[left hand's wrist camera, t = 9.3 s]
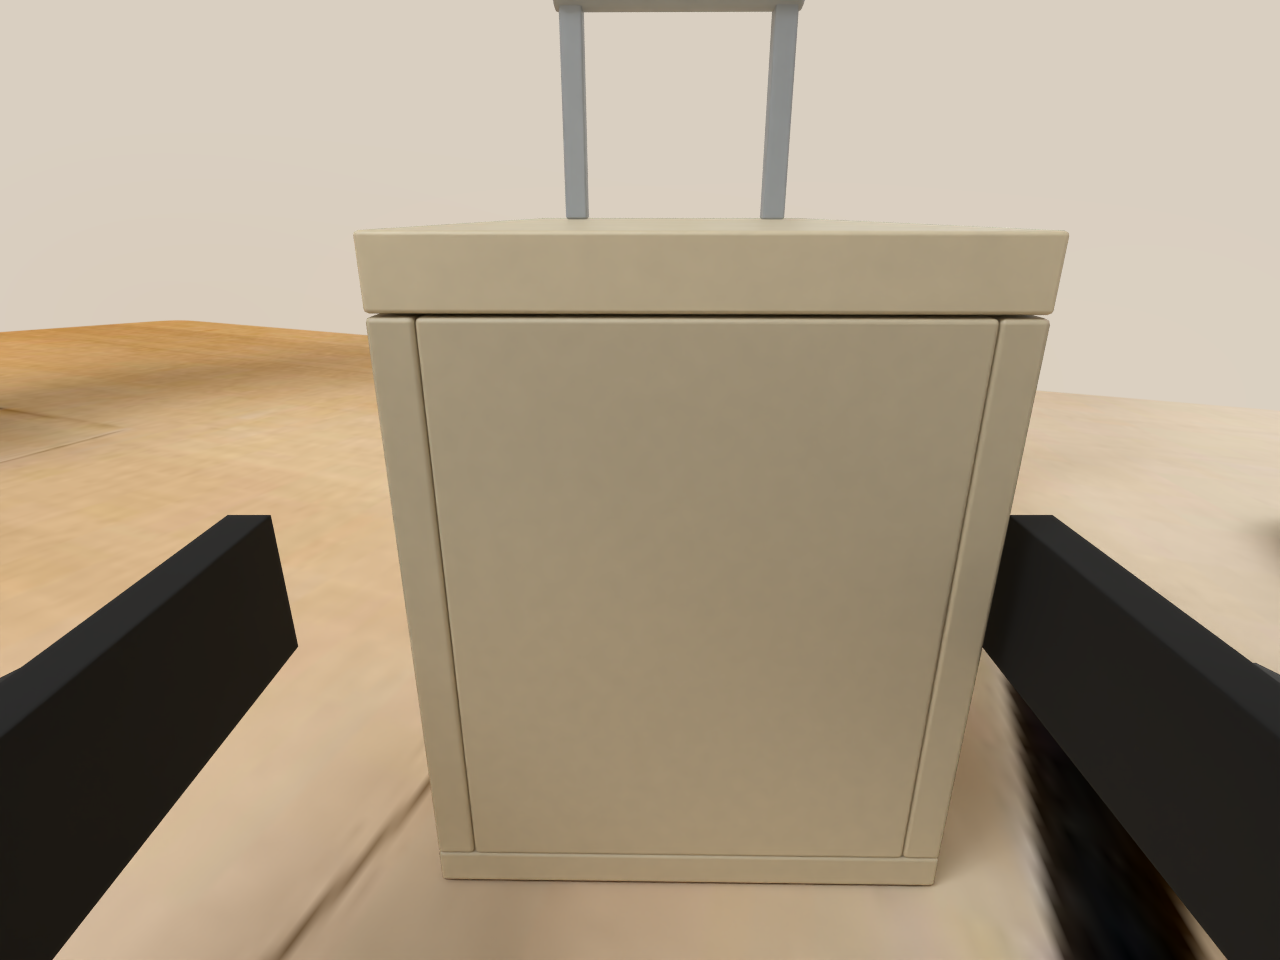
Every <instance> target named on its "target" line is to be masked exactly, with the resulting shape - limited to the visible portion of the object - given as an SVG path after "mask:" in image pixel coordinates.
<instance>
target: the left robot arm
mask: <svg viewBox="0 0 1280 960" xmlns="http://www.w3.org/2000/svg"><path fill="white" fill-rule="evenodd" d="M297 647H298V643H297V639H296V634H295V629H294V624H293V619H292V615H291V610H290V605H289V600H288V596H287V591H286V586H285V581H284V576H283V572H282V567H281V562H280V557H279V553H278V548H277V543H276V538H275V533H274V529H273V524H272V519H271V515H227V516H226V517H224V518H223V519H222V520H220V521H219V522H218V523H216V524H215V525H213V526H212V527H211V528H209V529H208V530H207V531H205V532H204V533H203V534H201V535H200V536H199V537H197V538H196V539H195V540H193V541H192V542H190V543H189V544H188V545H186V546H185V547H184V548H182V549H181V550H180V551H178V552H177V553H176V554H174V555H173V556H171V557H170V558H169V559H167V560H166V561H165V562H163V563H162V564H161V565H159V566H158V567H157V568H155V569H154V570H153V571H151V572H150V573H148V574H147V575H146V576H144V577H143V578H142V579H140V580H139V581H138V582H136V583H135V584H134V585H132V586H131V587H129V588H128V589H127V590H125V591H124V592H123V593H121V594H120V595H119V596H117V597H116V598H115V599H113V600H112V601H111V602H109V603H108V604H106V605H105V606H104V607H102V608H101V609H100V610H98V611H97V612H96V613H94V614H93V615H92V616H90V617H89V618H87V619H86V620H85V621H83V622H82V623H81V624H79V625H78V626H77V627H75V628H74V629H73V630H71V631H70V632H69V633H67V634H66V635H64V636H63V637H62V638H60V639H59V640H58V641H56V642H55V643H54V644H52V645H51V646H50V647H48V648H47V649H45V650H44V651H43V652H41V653H40V654H39V655H37V656H36V657H35V658H33V659H32V660H31V661H29V662H28V663H27V664H25V665H24V666H22V667H21V668H19V669H17V670H15V671H13V672H11V673H9V674H7V675H5V676H3V677H1V678H0V960H53V958H54V957H55V956H56V954H57V953H58V952H59V951H60V949H61V948H62V947H63V946H64V944H65V943H66V942H67V940H68V939H69V938H70V937H71V935H72V934H73V933H74V932H75V930H76V929H77V928H78V926H79V925H80V924H81V923H82V921H83V920H84V919H85V918H86V916H87V915H88V914H89V912H90V911H91V910H92V909H93V907H94V906H95V905H96V903H97V902H98V901H99V900H100V898H101V897H102V896H103V895H104V893H105V892H106V891H107V889H108V888H109V887H110V886H111V884H112V883H113V882H114V881H115V879H116V878H117V877H118V875H119V874H120V873H121V872H122V870H123V869H124V868H125V867H126V865H127V864H128V863H129V861H130V860H131V859H132V858H133V856H134V855H135V854H136V853H137V851H138V850H139V849H140V847H141V846H142V845H143V844H144V842H145V841H146V840H147V838H148V837H149V836H150V835H151V833H152V832H153V831H154V830H155V828H156V827H157V826H158V824H159V823H160V822H161V821H162V819H163V818H164V817H165V816H166V814H167V813H168V812H169V810H170V809H171V808H172V807H173V805H174V804H175V803H176V802H177V800H178V799H179V798H180V796H181V795H182V794H183V793H184V791H185V790H186V789H187V787H188V786H189V785H190V784H191V782H192V781H193V780H194V779H195V777H196V776H197V775H198V773H199V772H200V771H201V770H202V768H203V767H204V766H205V765H206V763H207V762H208V761H209V759H210V758H211V757H212V756H213V754H214V753H215V752H216V751H217V749H218V748H219V747H220V745H221V744H222V743H223V742H224V740H225V739H226V738H227V737H228V735H229V734H230V733H231V731H232V730H233V729H234V728H235V726H236V725H237V724H238V722H239V721H240V720H241V719H242V717H243V716H244V715H245V714H246V712H247V711H248V710H249V708H250V707H251V706H252V705H253V703H254V702H255V701H256V700H257V698H258V697H259V696H260V694H261V693H262V692H263V691H264V689H265V688H266V687H267V686H268V684H269V683H270V682H271V680H272V679H273V678H274V677H275V675H276V674H277V673H278V672H279V670H280V669H281V668H282V666H283V665H284V664H285V663H286V661H287V660H288V659H289V657H290V656H291V655H292V654H293V652H294V651H295V650H296V649H297ZM982 647H983V649H984V650H985V651H986V652H987V654H988V655H989V656H990V657H991V659H992V660H993V661H994V663H995V664H996V665H997V666H998V668H999V669H1000V670H1001V672H1002V673H1003V674H1004V675H1005V677H1006V678H1007V679H1008V680H1009V682H1010V683H1011V684H1012V686H1013V687H1014V688H1015V689H1016V691H1017V692H1018V693H1019V694H1020V696H1021V697H1022V698H1023V700H1024V701H1025V702H1026V703H1027V705H1028V706H1029V707H1030V708H1031V710H1032V711H1033V712H1034V714H1035V715H1036V716H1037V717H1038V719H1039V720H1040V721H1041V722H1042V724H1043V725H1044V726H1045V728H1046V729H1047V730H1048V731H1049V733H1050V734H1051V735H1052V737H1053V738H1054V739H1055V740H1056V742H1057V743H1058V744H1059V745H1060V747H1061V748H1062V749H1063V751H1064V752H1065V753H1066V754H1067V756H1068V757H1069V758H1070V759H1071V761H1072V762H1073V763H1074V765H1075V766H1076V767H1077V768H1078V770H1079V771H1080V772H1081V773H1082V775H1083V776H1084V777H1085V779H1086V780H1087V781H1088V782H1089V784H1090V785H1091V786H1092V788H1093V789H1094V790H1095V791H1096V793H1097V794H1098V795H1099V796H1100V798H1101V799H1102V800H1103V802H1104V803H1105V804H1106V805H1107V807H1108V808H1109V809H1110V810H1111V812H1112V813H1113V814H1114V816H1115V817H1116V818H1117V819H1118V821H1119V822H1120V823H1121V824H1122V826H1123V827H1124V828H1125V830H1126V831H1127V832H1128V833H1129V835H1130V836H1131V837H1132V838H1133V840H1134V841H1135V842H1136V844H1137V845H1138V846H1139V847H1140V849H1141V850H1142V851H1143V853H1144V854H1145V855H1146V856H1147V858H1148V859H1149V860H1150V861H1151V863H1152V864H1153V865H1154V867H1155V868H1156V869H1157V870H1158V872H1159V873H1160V874H1161V875H1162V877H1163V878H1164V879H1165V881H1166V882H1167V883H1168V884H1169V886H1170V887H1171V888H1172V889H1173V891H1174V892H1175V893H1176V895H1177V896H1178V897H1179V898H1180V900H1181V901H1182V902H1183V903H1184V905H1185V906H1186V907H1187V909H1188V910H1189V911H1190V912H1191V914H1192V915H1193V916H1194V918H1195V919H1196V920H1197V921H1198V923H1199V924H1200V925H1201V926H1202V928H1203V929H1204V930H1205V932H1206V933H1207V934H1208V935H1209V937H1210V938H1211V939H1212V940H1213V942H1214V943H1215V944H1216V946H1217V947H1218V948H1219V949H1220V951H1221V952H1222V953H1223V954H1224V956H1225V957H1226V958H1227V960H1280V675H1279V674H1277V673H1275V672H1273V671H1271V670H1269V669H1267V668H1265V667H1263V666H1261V665H1259V664H1257V663H1252V662H1251V661H1249V660H1248V659H1247V658H1245V657H1244V656H1243V655H1241V654H1240V653H1239V652H1237V651H1236V650H1235V649H1233V648H1232V647H1230V646H1229V645H1228V644H1226V643H1225V642H1224V641H1222V640H1221V639H1220V638H1218V637H1217V636H1216V635H1214V634H1213V633H1211V632H1210V631H1209V630H1207V629H1206V628H1205V627H1203V626H1202V625H1201V624H1199V623H1198V622H1197V621H1195V620H1194V619H1193V618H1191V617H1190V616H1188V615H1187V614H1186V613H1184V612H1183V611H1182V610H1180V609H1179V608H1178V607H1176V606H1175V605H1174V604H1172V603H1171V602H1169V601H1168V600H1167V599H1165V598H1164V597H1163V596H1161V595H1160V594H1159V593H1157V592H1156V591H1155V590H1153V589H1152V588H1151V587H1149V586H1148V585H1146V584H1145V583H1144V582H1142V581H1141V580H1140V579H1138V578H1137V577H1136V576H1134V575H1133V574H1132V573H1130V572H1129V571H1127V570H1126V569H1125V568H1123V567H1122V566H1121V565H1119V564H1118V563H1117V562H1115V561H1114V560H1113V559H1111V558H1110V557H1109V556H1107V555H1106V554H1104V553H1103V552H1102V551H1100V550H1099V549H1098V548H1096V547H1095V546H1094V545H1092V544H1091V543H1090V542H1088V541H1087V540H1085V539H1084V538H1083V537H1081V536H1080V535H1079V534H1077V533H1076V532H1075V531H1073V530H1072V529H1071V528H1069V527H1068V526H1067V525H1065V524H1064V523H1062V522H1061V521H1060V520H1058V519H1057V518H1056V517H1054V516H1053V515H1010V517H1009V522H1008V527H1007V532H1006V536H1005V541H1004V546H1003V551H1002V555H1001V560H1000V565H999V570H998V575H997V579H996V584H995V589H994V594H993V598H992V603H991V608H990V613H989V618H988V622H987V627H986V632H985V637H984V641H983V646H982Z"/></svg>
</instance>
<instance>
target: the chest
mask: <svg viewBox="0 0 1280 960" xmlns="http://www.w3.org/2000/svg"><path fill="white" fill-rule="evenodd" d="M366 326H367V333H368V340H369V348H370V355H371V362H372V369H373V376H374V384H375V391H376V398H377V405H378V412H379V419H380V427H381V434H382V441H383V448H384V455H385V462H386V470H387V477H388V484H389V491H390V498H391V506H392V513H393V520H394V527H395V534H396V541H397V549H398V556H399V563H400V570H401V577H402V584H403V592H404V599H405V606H406V613H407V620H408V628H409V635H410V642H411V649H412V656H413V663H414V671H415V678H416V685H417V692H418V699H419V706H420V714H421V721H422V728H423V735H424V742H425V750H426V757H427V764H428V771H429V778H430V785H431V793H432V800H433V807H434V814H435V821H436V829H437V836H438V843H439V849H440V860H441V867H442V874H443V878H445V879H513V880H588V881H663V882H739V883H814V884H890V885H932V884H933V883H934V878H935V873H936V868H937V863H938V858H937V857H938V856H939V851H940V847H941V842H942V837H943V832H944V828H945V823H946V818H947V813H948V808H949V804H950V799H951V794H952V789H953V785H954V780H955V775H956V770H957V765H958V761H959V756H960V751H961V746H962V742H963V737H964V732H965V727H966V723H967V718H968V713H969V708H970V703H971V699H972V694H973V689H974V684H975V680H976V675H977V670H978V665H979V660H980V656H981V651H982V646H983V641H984V637H985V632H986V627H987V622H988V618H989V613H990V608H991V603H992V598H993V594H994V589H995V584H996V579H997V575H998V570H999V565H1000V560H1001V555H1002V551H1003V546H1004V541H1005V536H1006V532H1007V527H1008V522H1009V517H1010V513H1011V508H1012V503H1013V498H1014V493H1015V489H1016V484H1017V479H1018V474H1019V470H1020V465H1021V460H1022V455H1023V451H1024V446H1025V441H1026V436H1027V431H1028V427H1029V422H1030V417H1031V412H1032V408H1033V403H1034V398H1035V393H1036V388H1037V384H1038V379H1039V374H1040V369H1041V364H1042V360H1043V355H1044V350H1045V345H1046V341H1047V336H1048V331H1049V326H1050V324H1049V321H1048V320H1047V319H1044V318H1041V317H1037V316H1034V315H844V314H420V313H380V314H377V315H375V316H372V317H370V318H367V321H366Z"/></svg>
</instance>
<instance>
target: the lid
mask: <svg viewBox="0 0 1280 960" xmlns="http://www.w3.org/2000/svg"><path fill="white" fill-rule="evenodd" d="M804 1H805V0H553V2H554V7H555V9H556V11H557V12H559V25H560V53H561V82H562V111H563V139H564V167H565V196H566V217H567V218H541V219H525V220H509V221H494V222H478V223H462V224H446V225H431V226H415V227H399V228H384V229H368V230H357V231H355V232H354V235H353V236H354V243H355V250H356V258H357V265H358V272H359V279H360V286H361V293H362V301H363V308H364V311H365V312H367V313H420V314H844V315H1048V314H1051V313H1052V312H1053V310H1054V306H1055V301H1056V296H1057V291H1058V287H1059V282H1060V277H1061V272H1062V267H1063V263H1064V258H1065V253H1066V248H1067V243H1068V239H1069V233H1068V232H1066V231H1061V230H1039V229H1017V228H996V227H975V226H953V225H931V224H910V223H888V222H866V221H845V220H824V219H801V218H784V210H785V196H786V182H787V167H788V153H789V139H790V124H791V110H792V95H793V82H794V67H795V53H796V38H797V24H798V11H800V10H801V9H802V6H803V4H804ZM584 12H772V24H771V41H770V58H769V75H768V92H767V110H766V127H765V144H764V161H763V178H762V195H761V212H760V218H588V217H589V209H588V169H587V129H586V87H585V46H584Z"/></svg>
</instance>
